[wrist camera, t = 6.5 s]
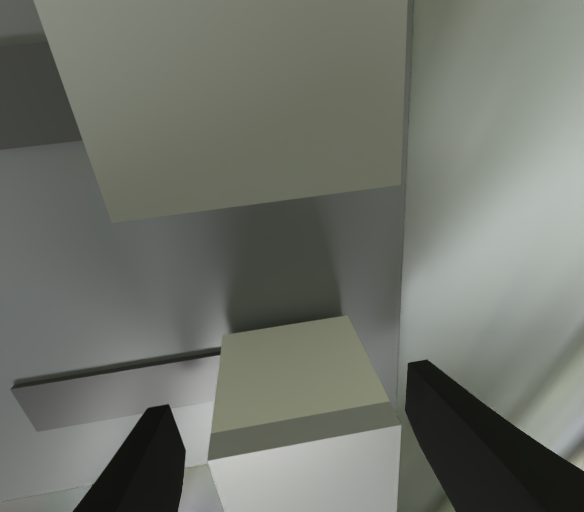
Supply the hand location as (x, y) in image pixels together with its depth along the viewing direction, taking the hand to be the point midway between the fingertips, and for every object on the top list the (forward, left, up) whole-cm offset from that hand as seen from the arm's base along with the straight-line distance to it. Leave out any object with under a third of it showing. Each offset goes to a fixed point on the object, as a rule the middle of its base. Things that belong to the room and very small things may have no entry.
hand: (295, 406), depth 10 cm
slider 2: (0, 0, -1) cm, 1 cm away
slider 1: (0, +9, -1) cm, 9 cm away
